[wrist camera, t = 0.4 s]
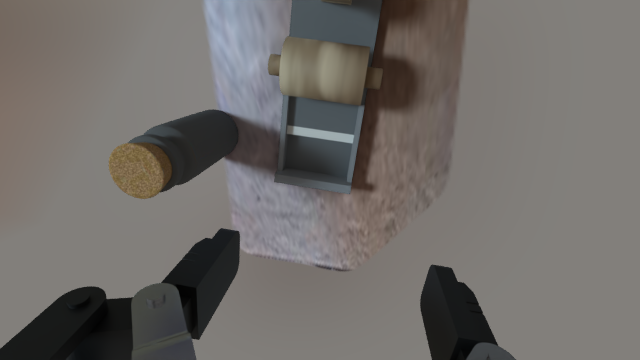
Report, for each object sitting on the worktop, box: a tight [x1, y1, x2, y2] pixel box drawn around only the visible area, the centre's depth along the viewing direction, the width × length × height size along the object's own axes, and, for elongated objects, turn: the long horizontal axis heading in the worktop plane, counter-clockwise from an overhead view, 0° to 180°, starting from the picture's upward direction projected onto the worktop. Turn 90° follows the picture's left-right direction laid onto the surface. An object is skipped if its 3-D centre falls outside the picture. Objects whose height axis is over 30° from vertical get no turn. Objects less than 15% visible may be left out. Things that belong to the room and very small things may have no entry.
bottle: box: [109, 110, 238, 199], centre depth 32 cm, size 6×6×15 cm
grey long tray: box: [274, 0, 382, 194], centre depth 34 cm, size 23×9×3 cm, turn 173°
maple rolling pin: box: [268, 36, 383, 106], centre depth 32 cm, size 11×6×6 cm, turn 83°
